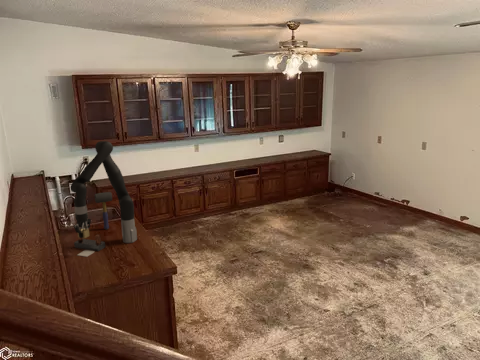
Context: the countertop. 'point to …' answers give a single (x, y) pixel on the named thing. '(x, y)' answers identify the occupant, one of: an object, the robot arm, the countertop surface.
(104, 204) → the rubber mallet
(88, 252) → the felt mat
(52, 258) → the countertop surface
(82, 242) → the plane body
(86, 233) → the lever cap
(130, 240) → the robot arm
